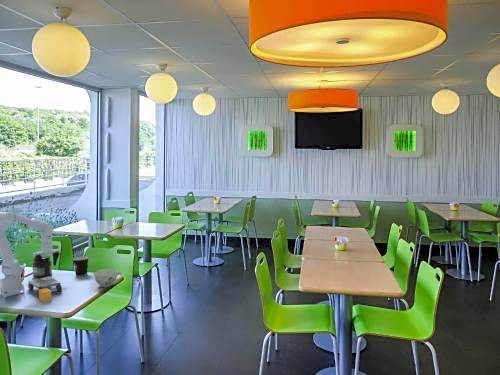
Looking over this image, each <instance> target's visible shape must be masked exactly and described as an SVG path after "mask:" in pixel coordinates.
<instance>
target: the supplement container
mask: <svg viewBox="0 0 500 375" xmlns="http://www.w3.org/2000/svg"><path fill="white" fill-rule="evenodd" d="M41 257H42V268H39V264H38V262H37V260H36V258H35V257H34V256H33V258H32V261H33V262H32V264H31V266H32V278H34V279H40V278H45V277H51V276H52V275H53V272H52V271H53V270H52V268H53V267H52V265H53V261H52V260H51V255H48V254H46V255H41Z"/></svg>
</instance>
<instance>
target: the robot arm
mask: <svg viewBox="0 0 500 375" xmlns="http://www.w3.org/2000/svg"><path fill="white" fill-rule="evenodd" d="M17 222H19V223H22V224H24V225H27V227H28V228H30V229H33V230H35V231H38V232H39V233H40V248H41V250H40V251H36V252H35V251H34V252H33V253H32V257H33V258H34V257H35V258H36V260H37V262H38V264H39V268H42V257H41V256H44V255H52V260H53V261H52V265H53V266H57V262H58V259H59V257H60V253H61V252H62V250H61V248H54V249H53V231H54V229H55V227H54V225H53V224H52V223H51V222H46V220H41V219H39V217H32V218H28V217H25V216H23V215H21V214H19V213H13V212H6V211H0V257H1V260H2V262H1V264H0V266H1V273H2V274H3V276H4V277H3V278H1V279H0V295H1V296H3V297H4V298H5V297H11V296H15V295H19V294H24V291H23V290H22V286H21V285H22V284H21V276H22V275H23V272H24V269H23V266H21V264H20V263H19V261H18V260H17V259H16V258H15V256H14V254H13V251H12V248H11V245H10V242H9V240H8V237H7V234H6V230H7V229H8V228H9V227H10V226H11V225H13V223H17Z"/></svg>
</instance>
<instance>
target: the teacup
mask: <svg viewBox="0 0 500 375" xmlns="http://www.w3.org/2000/svg"><path fill="white" fill-rule="evenodd" d="M119 275H120V276H119ZM93 276H94V280H95V282H96V283H97V284H98V285H99V286H100V287H101V288H108V287H111V286H112V285H113V284H114V283H115V282H117V281H119V280H120V279H122V277H123V273H122V272H121V271H119V272H118V270H117V269H113V268H103V269H98V270H96V271H94V272H93ZM118 276H119V277H118Z"/></svg>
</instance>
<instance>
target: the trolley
mask: <svg viewBox="0 0 500 375" xmlns="http://www.w3.org/2000/svg"><path fill="white" fill-rule="evenodd" d="M51 287H55V288H52V289H50V290H51V292H54V291H55V292H56V293H57V294H60V293H62V291H63V288H62V285H61V282H60V281H59V280H58V279H55V278H53V277H51V276H50V277H45V278H40V279H36V278H34V279H31V280H28V284H27V288H28V290H29V291H33V290H34V288H36V289H37V294H38V296H39V290H40V289H45V288H51Z"/></svg>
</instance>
